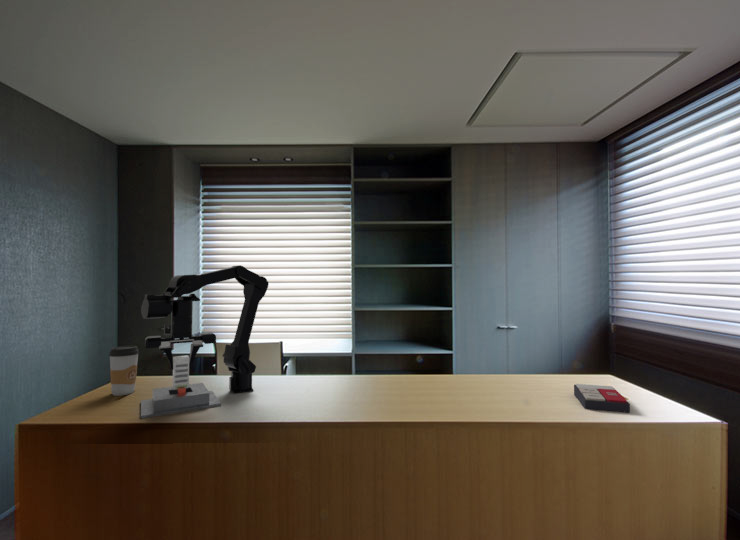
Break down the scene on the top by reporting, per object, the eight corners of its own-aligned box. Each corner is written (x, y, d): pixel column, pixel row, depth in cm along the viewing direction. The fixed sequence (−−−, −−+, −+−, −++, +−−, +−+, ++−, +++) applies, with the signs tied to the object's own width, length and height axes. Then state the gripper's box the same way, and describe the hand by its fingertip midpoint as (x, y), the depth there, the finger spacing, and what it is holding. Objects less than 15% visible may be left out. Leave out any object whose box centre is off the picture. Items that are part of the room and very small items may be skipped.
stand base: (211, 393, 123) (212, 375, 123) (220, 406, 109) (221, 386, 109) (140, 403, 112) (141, 384, 112) (140, 418, 99) (141, 397, 99)
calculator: (584, 397, 105) (573, 381, 119) (585, 412, 105) (573, 395, 119) (630, 401, 101) (613, 384, 116) (630, 416, 101) (613, 398, 116)
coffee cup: (123, 397, 118) (124, 349, 119) (101, 396, 120) (102, 349, 121) (144, 390, 126) (145, 345, 127) (123, 389, 128) (124, 345, 129)
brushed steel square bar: (187, 384, 114) (187, 355, 114) (188, 388, 110) (189, 357, 110) (172, 386, 111) (173, 356, 112) (173, 390, 108) (174, 359, 108)
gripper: (210, 313, 124) (210, 361, 123) (145, 316, 114) (144, 367, 113) (216, 315, 114) (216, 367, 113) (145, 318, 104) (144, 375, 104)
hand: (180, 369), depth 111 cm, fingers open, 4 cm apart
